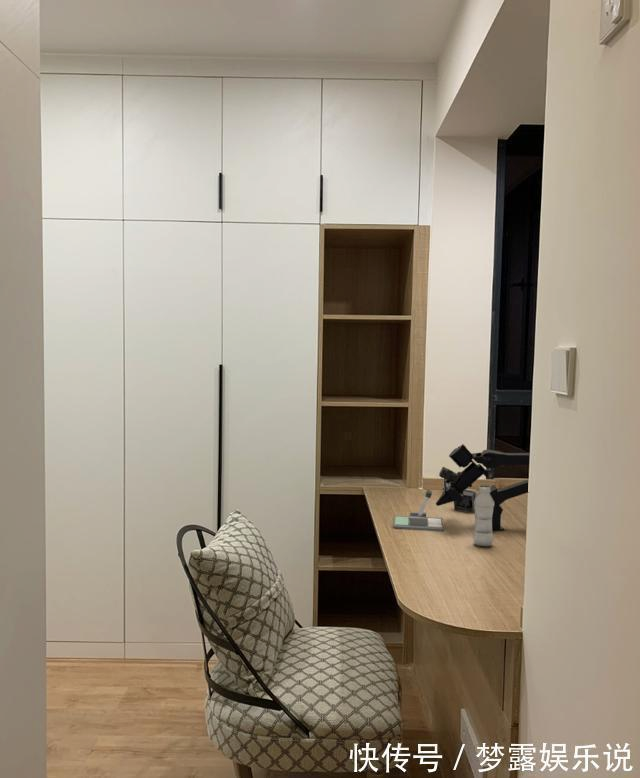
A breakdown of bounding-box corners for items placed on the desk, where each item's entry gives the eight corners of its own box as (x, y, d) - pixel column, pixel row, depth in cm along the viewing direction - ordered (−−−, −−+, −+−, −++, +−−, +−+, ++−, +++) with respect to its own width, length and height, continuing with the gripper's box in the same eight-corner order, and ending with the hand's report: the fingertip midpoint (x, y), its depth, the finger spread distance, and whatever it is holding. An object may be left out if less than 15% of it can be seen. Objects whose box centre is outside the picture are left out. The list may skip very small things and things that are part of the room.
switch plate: (442, 520, 236) (442, 510, 235) (443, 531, 222) (444, 521, 221) (394, 517, 238) (394, 508, 238) (392, 528, 224) (393, 518, 224)
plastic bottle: (496, 548, 205) (498, 488, 203) (477, 549, 203) (479, 489, 202) (488, 541, 211) (490, 483, 209) (469, 542, 210) (471, 484, 208)
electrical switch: (478, 511, 249) (478, 488, 247) (473, 515, 244) (473, 492, 243) (455, 507, 254) (455, 485, 252) (451, 511, 249) (450, 489, 248)
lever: (419, 519, 232) (431, 491, 230) (419, 523, 228) (431, 494, 226) (415, 517, 232) (427, 489, 231) (415, 521, 228) (427, 492, 226)
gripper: (451, 455, 235) (420, 483, 238) (454, 465, 217) (421, 495, 220) (471, 477, 235) (441, 504, 237) (476, 488, 217) (443, 518, 219)
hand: (436, 504), depth 228 cm, fingers closed
